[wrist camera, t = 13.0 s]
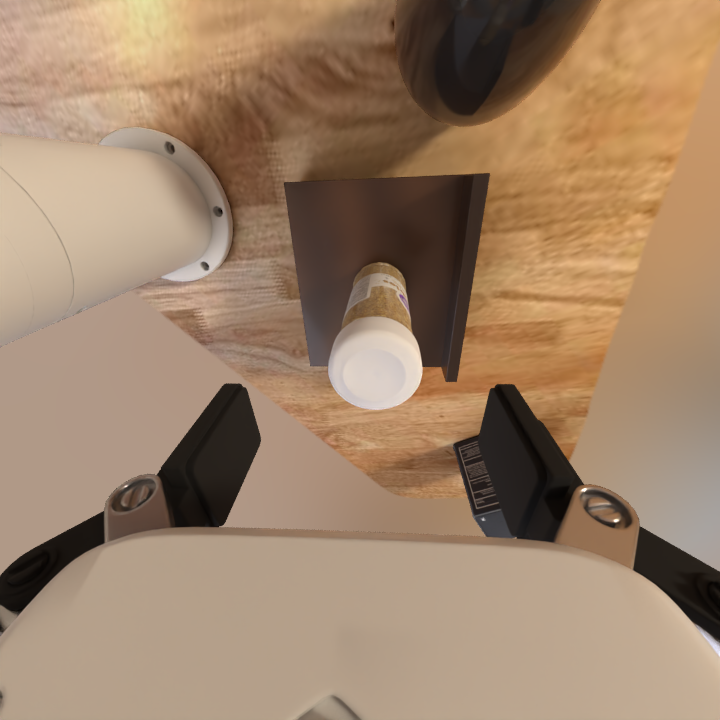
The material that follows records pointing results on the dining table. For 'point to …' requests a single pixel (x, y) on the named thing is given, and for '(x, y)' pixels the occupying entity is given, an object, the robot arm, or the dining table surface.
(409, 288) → the shelf
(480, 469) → the small box
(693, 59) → the dining table surface
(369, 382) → the sprinkles bottle
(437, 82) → the pump dispenser
